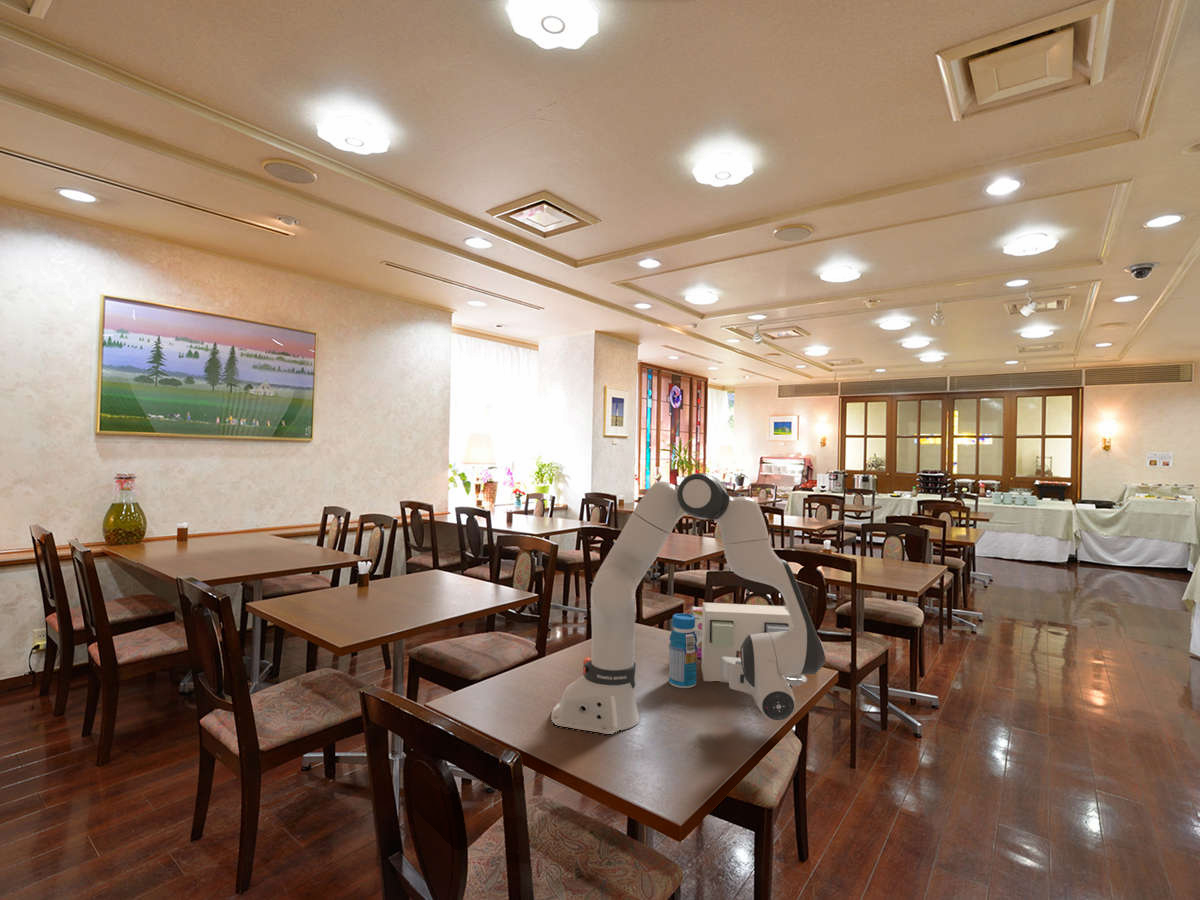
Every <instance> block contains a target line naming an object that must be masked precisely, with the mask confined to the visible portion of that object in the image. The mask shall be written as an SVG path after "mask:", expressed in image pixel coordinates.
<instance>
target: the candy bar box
mask: <svg viewBox="0 0 1200 900" xmlns="http://www.w3.org/2000/svg"><path fill="white" fill-rule="evenodd" d="M690 608H691V609H690V615H693V616H694V617H695V628H694V629H693V631H694V632H695V634H696V637H697V643H696V645H697V649H698V651H697V660H702V612H703V606H690Z"/></svg>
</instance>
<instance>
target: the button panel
mask: <svg viewBox="0 0 1200 900" xmlns="http://www.w3.org/2000/svg"><path fill="white" fill-rule="evenodd" d="M702 607H703V612H702V659H701V665H700V666H701V673H702V678H703V682H713V681H721V682H720V683H729V682H728V681H726V680H725V679H724V677H723V675H722V673H721V658H722V657H736V654H737V651H740V649H741V646H742V644H743V642H744V640H745V639H746V637H747V636H748V635H752V634H759V633H765V622H768V623H786V625H787V626H788V627H789V629H790V630H791V629H793V628H794V625H793V622H792V619H791V617H790V614H789V611H788V609H787V606H786V605H766V604H747V603H745V604H744V603H742V604H741V603H726V602H725V603H724V602H720V603H719V602H702ZM711 620H727V621H732V624H733V626H734V634H733V647H728V646H712V642H711ZM722 681H723V682H722Z"/></svg>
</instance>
